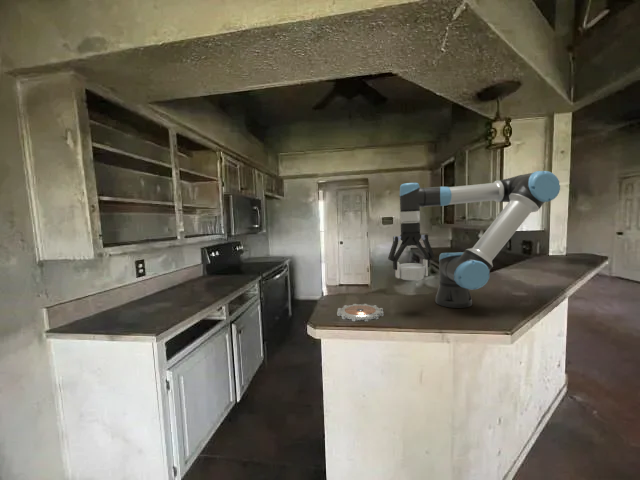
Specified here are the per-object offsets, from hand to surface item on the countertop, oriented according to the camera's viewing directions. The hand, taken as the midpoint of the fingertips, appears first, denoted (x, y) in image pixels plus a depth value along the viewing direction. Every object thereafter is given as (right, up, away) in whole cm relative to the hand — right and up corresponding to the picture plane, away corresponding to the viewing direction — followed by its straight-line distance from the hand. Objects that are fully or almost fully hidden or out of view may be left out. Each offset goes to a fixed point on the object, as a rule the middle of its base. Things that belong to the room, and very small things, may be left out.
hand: (411, 276), depth 128 cm
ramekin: (0, -1, 0) cm, 1 cm away
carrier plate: (-20, -16, +5) cm, 26 cm away
